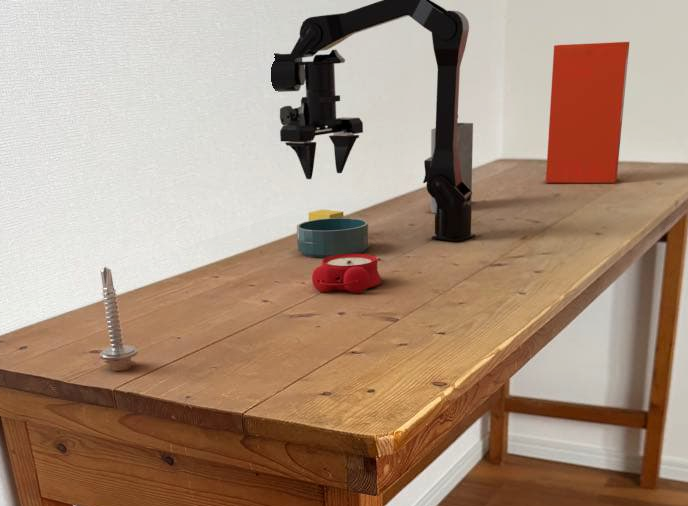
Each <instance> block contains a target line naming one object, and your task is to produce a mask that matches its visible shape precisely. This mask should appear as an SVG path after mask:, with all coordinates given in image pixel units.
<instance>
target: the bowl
mask: <svg viewBox="0 0 688 506" xmlns="http://www.w3.org/2000/svg"><path fill="white" fill-rule="evenodd" d="M369 239H370V237H369V222H368V221H367V220H364V219H361V218H352V217H344V218H328V219H318V220H311V221H309V220H307V221H303V222H301V223H299V224H297V225H296V241H297V250H298V252H299V253H300V254H301V255H303V256H305V257H310V258H318V259H325V258H327V257H330V256H335V255H342V254H364V253H365V252H366V250H367V249H368V248H369V246H370V243H369Z"/></svg>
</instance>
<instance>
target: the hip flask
mask: <svg viewBox="0 0 688 506" xmlns="http://www.w3.org/2000/svg"><path fill="white" fill-rule="evenodd" d="M430 131H431V132H430V157H433V154H434V150H435V131H436V127H435V128H432V129H431V130H430ZM473 140H474V123H473V122H457V142H456V147H457V153H458V157H459V161H460V169H461V178H462V181H463V182H464V183H465V184H466V186H467V187H468V188H469V189H470V190H471V191H472V192H473V190H472V189H473V188H472V187H473V186H472V185H473V146H474V142H473ZM467 204H468V205H471V204H472V197H471V198H470V201H469V202H468V203H467ZM430 213H431V214H435V213H437V203H436V200H435V198H433V197H432V196H431V195H430Z"/></svg>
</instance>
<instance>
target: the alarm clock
mask: <svg viewBox="0 0 688 506" xmlns="http://www.w3.org/2000/svg"><path fill="white" fill-rule="evenodd" d="M381 260H382V259H381V258H380V257H378V258H377V257H376V256H374V255H372V254H366V253H361V254H342V255H335V256H330V257H327V258H322V261H321V265H320V266H317V267H315V269H313V271H312V274H311V281H312V285H313V286H314V288H315V290H317V291H318V292H321V293H328V292H331V291H333V290H334V291H348V292H350V293H352V294H361V293H363V292H365V291H366V290H368V289H370V288H373V287H376V286H378V285H380V284H381V283H382V277H381V275H380V272H379V271H378V262H380V261H381Z"/></svg>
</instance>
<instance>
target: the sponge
mask: <svg viewBox="0 0 688 506" xmlns="http://www.w3.org/2000/svg"><path fill="white" fill-rule="evenodd" d="M344 216H345V215H344V211H339V210H330V209H319V210H314V211H309V212H308V221H311V220H318V219H328V218H345V217H344Z"/></svg>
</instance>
